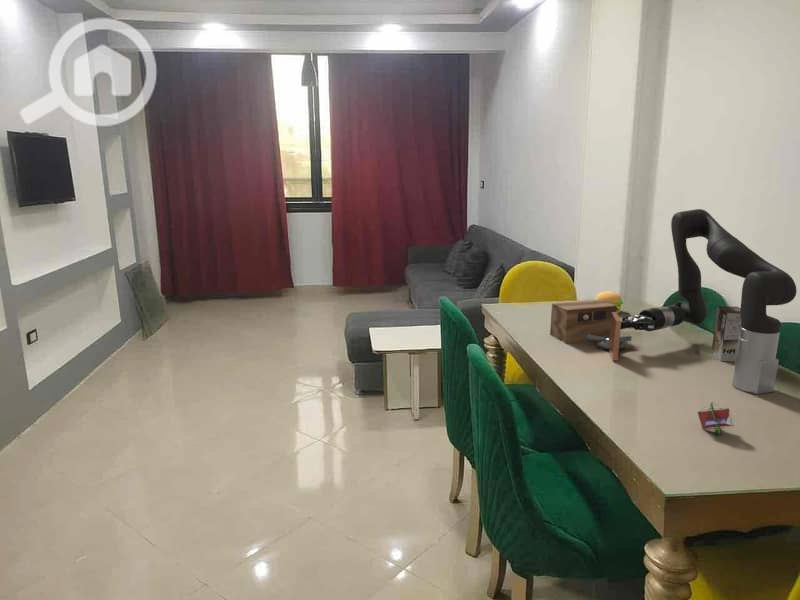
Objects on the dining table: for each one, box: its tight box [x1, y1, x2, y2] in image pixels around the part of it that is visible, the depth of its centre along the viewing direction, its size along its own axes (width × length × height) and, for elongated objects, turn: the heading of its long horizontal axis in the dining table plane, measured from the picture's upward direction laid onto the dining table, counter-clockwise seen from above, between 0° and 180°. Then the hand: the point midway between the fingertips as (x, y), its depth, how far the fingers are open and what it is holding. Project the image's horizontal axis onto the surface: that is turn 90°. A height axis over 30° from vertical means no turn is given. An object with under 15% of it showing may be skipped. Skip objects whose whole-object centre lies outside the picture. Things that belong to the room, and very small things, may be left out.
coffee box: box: [711, 305, 741, 363], centre depth 179 cm, size 9×6×16 cm
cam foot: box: [587, 312, 632, 361], centre depth 185 cm, size 20×14×13 cm
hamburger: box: [593, 290, 624, 314], centre depth 236 cm, size 12×12×9 cm
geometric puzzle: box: [697, 401, 735, 437], centre depth 131 cm, size 7×7×8 cm
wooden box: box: [549, 299, 616, 344], centre depth 201 cm, size 12×20×12 cm, turn 106°
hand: (618, 325), depth 181 cm, fingers closed
